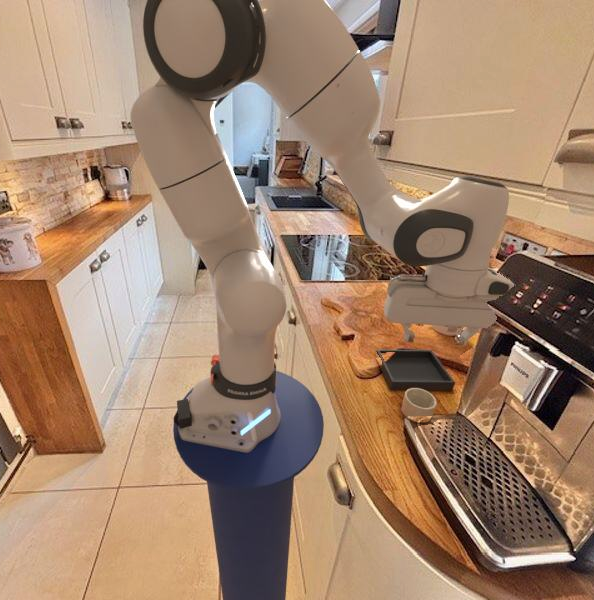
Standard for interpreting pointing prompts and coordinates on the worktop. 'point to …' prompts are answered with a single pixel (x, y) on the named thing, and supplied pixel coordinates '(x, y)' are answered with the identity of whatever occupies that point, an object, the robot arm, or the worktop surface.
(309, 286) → the worktop surface
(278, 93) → the robot arm
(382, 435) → the worktop surface
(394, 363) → the tray
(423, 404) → the cup
